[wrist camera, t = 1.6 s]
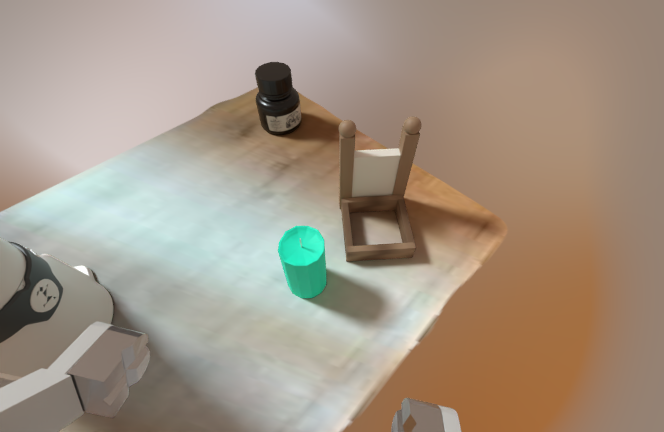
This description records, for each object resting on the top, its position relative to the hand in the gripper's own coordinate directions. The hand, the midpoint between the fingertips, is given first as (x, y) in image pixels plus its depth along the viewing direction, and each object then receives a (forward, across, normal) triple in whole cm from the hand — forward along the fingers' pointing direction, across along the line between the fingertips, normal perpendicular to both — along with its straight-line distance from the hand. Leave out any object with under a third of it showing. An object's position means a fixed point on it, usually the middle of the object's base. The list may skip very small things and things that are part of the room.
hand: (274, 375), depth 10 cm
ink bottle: (+65, -15, -12) cm, 68 cm away
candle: (+32, -1, -25) cm, 40 cm away
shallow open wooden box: (+40, +8, -19) cm, 45 cm away
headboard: (+46, +7, -17) cm, 49 cm away
